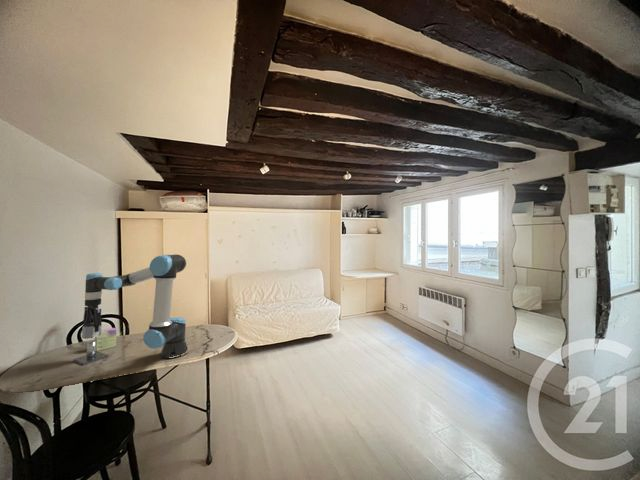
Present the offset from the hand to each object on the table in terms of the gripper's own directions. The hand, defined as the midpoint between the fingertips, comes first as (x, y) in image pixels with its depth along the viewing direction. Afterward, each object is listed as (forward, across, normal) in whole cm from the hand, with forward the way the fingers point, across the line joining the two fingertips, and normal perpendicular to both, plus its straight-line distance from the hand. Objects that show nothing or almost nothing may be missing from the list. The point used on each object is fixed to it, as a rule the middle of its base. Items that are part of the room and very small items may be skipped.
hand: (91, 335), depth 153 cm
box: (+14, +12, -13) cm, 23 cm away
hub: (0, 0, 0) cm, 0 cm away
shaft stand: (+14, 0, 0) cm, 14 cm away
